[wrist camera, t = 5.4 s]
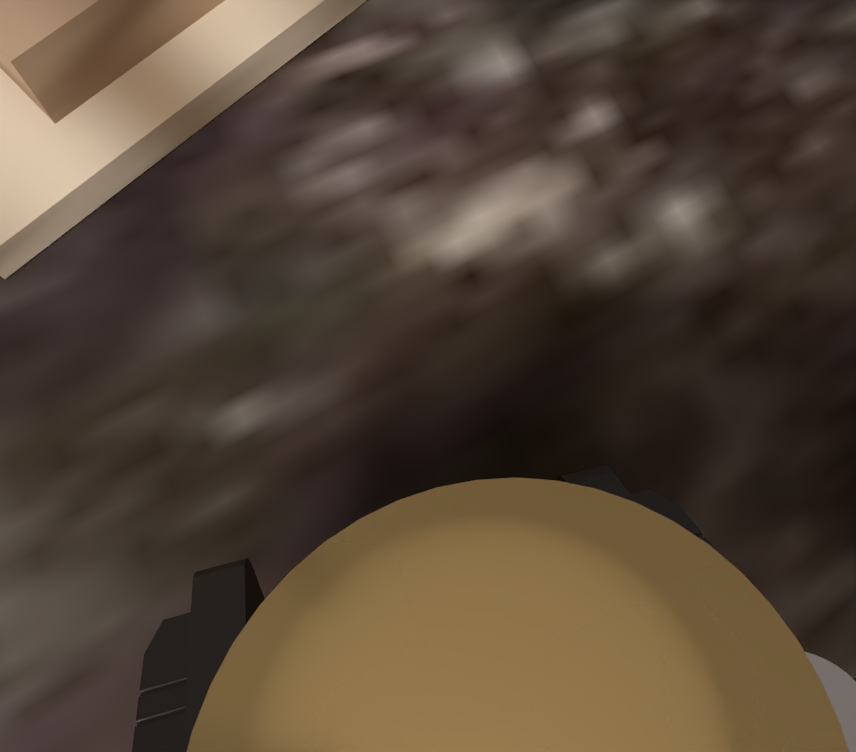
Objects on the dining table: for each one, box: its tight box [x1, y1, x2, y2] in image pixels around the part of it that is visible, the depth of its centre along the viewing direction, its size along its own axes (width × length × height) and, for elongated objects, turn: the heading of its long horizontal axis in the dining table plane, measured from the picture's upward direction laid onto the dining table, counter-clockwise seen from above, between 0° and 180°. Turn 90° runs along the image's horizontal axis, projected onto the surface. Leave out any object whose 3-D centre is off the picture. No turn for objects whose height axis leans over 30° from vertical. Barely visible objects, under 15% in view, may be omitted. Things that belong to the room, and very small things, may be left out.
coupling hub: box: [187, 478, 849, 752], centre depth 10 cm, size 5×5×10 cm
